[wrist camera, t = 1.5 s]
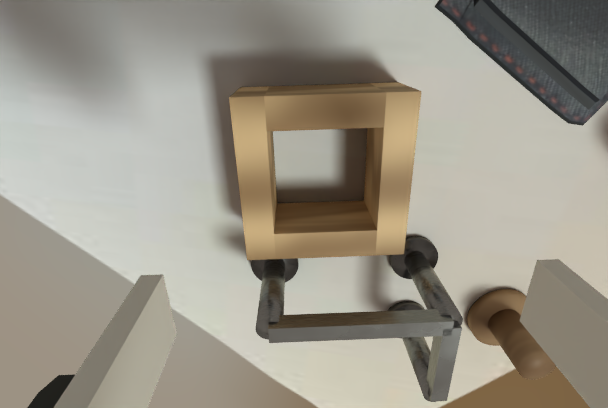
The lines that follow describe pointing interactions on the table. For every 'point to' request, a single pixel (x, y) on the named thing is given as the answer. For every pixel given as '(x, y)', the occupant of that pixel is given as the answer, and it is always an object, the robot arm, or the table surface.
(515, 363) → the peg stand
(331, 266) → the table surface
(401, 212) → the wooden square frame
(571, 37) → the dark grey book
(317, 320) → the gray metal stand
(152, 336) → the robot arm
